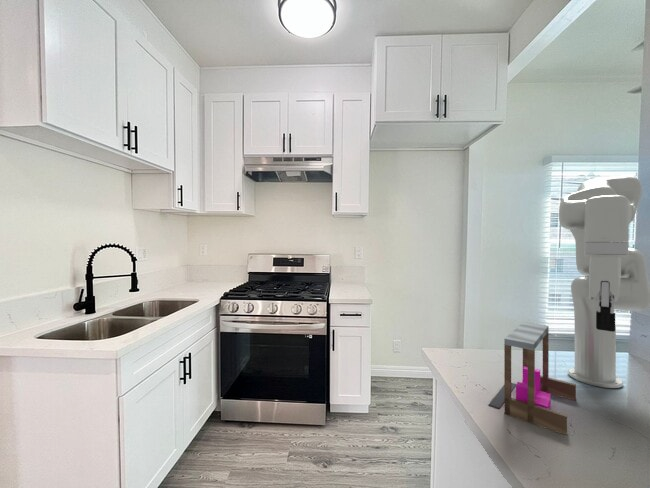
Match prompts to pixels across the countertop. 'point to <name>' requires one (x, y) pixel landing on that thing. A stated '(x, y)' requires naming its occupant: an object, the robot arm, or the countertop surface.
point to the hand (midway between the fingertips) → (605, 329)
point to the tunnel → (529, 412)
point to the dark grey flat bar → (500, 397)
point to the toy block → (540, 397)
